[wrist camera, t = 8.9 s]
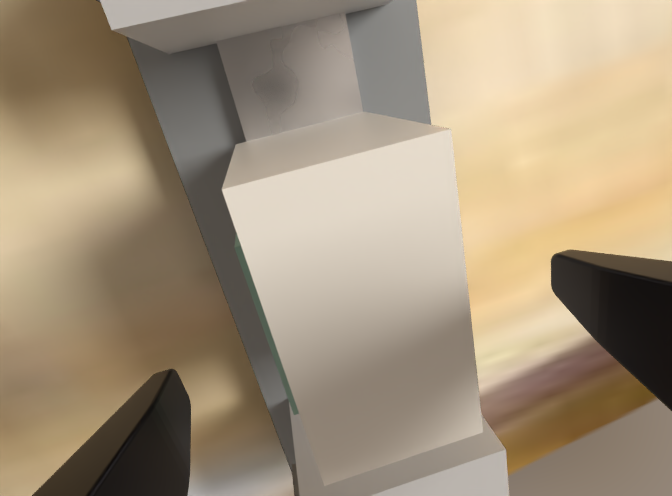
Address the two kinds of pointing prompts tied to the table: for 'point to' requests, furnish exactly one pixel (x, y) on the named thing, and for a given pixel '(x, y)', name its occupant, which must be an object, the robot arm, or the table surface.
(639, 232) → the table surface
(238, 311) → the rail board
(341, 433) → the block
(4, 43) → the table surface
